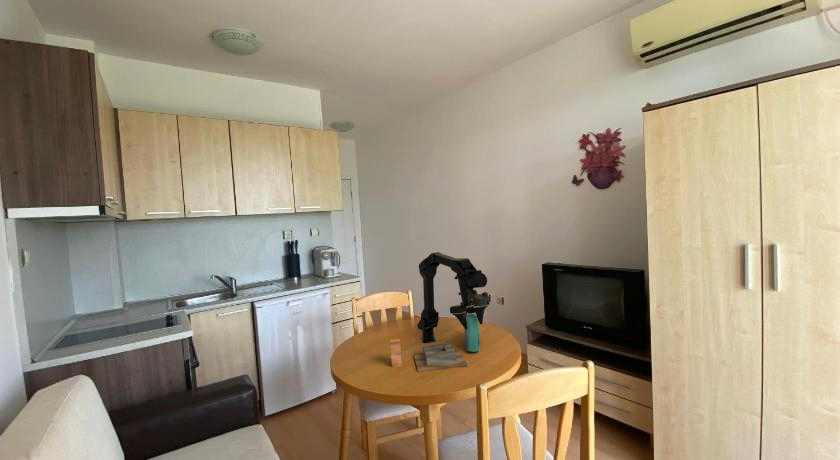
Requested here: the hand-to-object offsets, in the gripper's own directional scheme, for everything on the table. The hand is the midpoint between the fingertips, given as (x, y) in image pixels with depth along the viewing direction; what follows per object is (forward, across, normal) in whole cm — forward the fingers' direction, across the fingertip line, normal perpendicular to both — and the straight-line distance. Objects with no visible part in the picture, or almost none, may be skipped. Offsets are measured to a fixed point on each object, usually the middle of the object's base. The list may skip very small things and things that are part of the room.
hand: (473, 326), depth 144 cm
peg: (+10, -23, +26) cm, 36 cm away
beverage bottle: (+13, +7, +10) cm, 18 cm away
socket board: (+12, -9, +15) cm, 21 cm away
